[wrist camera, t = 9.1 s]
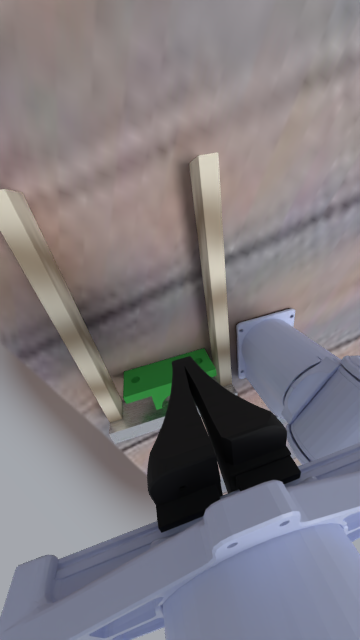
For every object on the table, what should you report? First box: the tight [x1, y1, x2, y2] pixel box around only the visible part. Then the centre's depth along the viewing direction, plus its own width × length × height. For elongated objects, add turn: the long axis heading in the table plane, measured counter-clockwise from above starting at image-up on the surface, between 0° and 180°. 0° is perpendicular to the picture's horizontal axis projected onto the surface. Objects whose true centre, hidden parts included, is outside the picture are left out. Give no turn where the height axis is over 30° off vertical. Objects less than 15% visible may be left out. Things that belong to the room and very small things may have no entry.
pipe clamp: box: [123, 348, 217, 410], centre depth 24 cm, size 10×4×4 cm, turn 100°
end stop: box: [109, 376, 237, 444], centre depth 26 cm, size 2×16×4 cm, turn 100°
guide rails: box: [0, 152, 232, 423], centre depth 20 cm, size 24×16×2 cm, turn 10°
